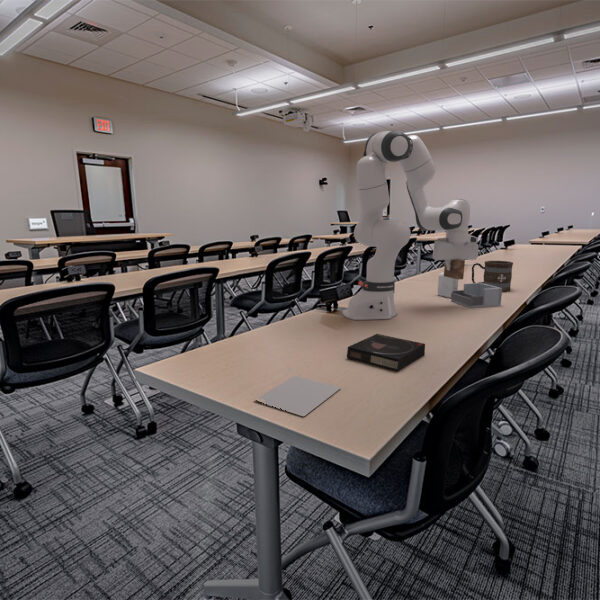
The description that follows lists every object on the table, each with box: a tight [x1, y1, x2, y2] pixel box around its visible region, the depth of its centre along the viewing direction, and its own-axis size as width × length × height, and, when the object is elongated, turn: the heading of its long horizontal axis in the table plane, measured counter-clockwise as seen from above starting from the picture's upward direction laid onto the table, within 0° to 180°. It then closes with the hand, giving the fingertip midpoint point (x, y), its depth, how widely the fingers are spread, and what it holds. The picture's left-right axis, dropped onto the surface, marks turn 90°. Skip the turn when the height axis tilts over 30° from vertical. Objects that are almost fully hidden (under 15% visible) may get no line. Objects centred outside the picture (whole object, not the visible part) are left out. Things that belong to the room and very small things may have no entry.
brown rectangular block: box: [443, 260, 466, 280], centre depth 175 cm, size 3×10×8 cm, turn 13°
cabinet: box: [450, 282, 503, 309], centre depth 184 cm, size 15×15×8 cm
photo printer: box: [437, 271, 459, 299], centre depth 199 cm, size 10×4×12 cm, turn 28°
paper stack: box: [258, 368, 341, 417], centre depth 102 cm, size 23×25×1 cm
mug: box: [471, 260, 514, 294], centre depth 214 cm, size 20×14×15 cm
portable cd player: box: [346, 333, 426, 373], centre depth 120 cm, size 16×17×4 cm
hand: (453, 270), depth 176 cm, fingers closed on brown rectangular block, 3 cm apart
